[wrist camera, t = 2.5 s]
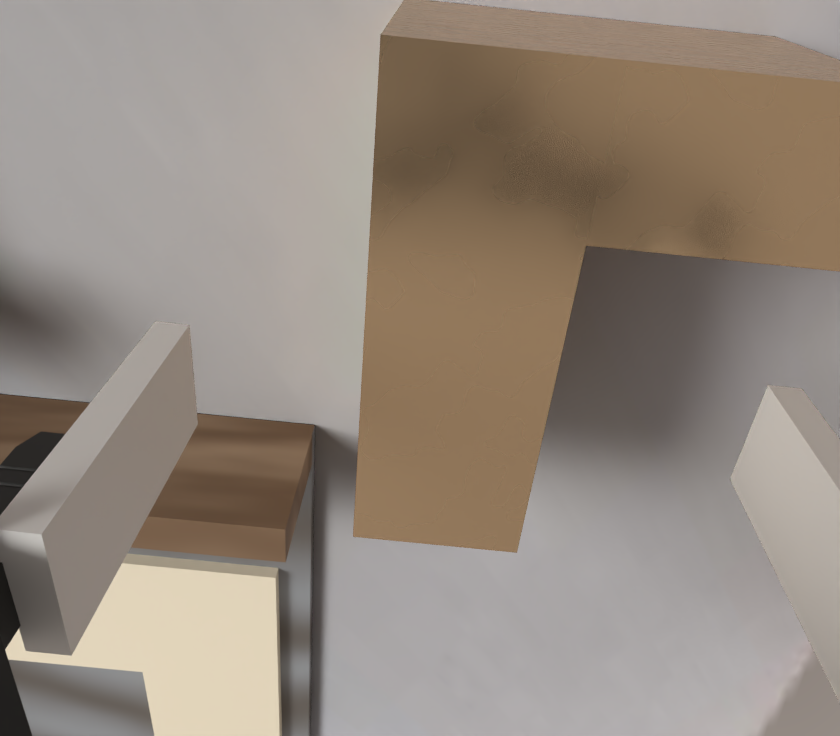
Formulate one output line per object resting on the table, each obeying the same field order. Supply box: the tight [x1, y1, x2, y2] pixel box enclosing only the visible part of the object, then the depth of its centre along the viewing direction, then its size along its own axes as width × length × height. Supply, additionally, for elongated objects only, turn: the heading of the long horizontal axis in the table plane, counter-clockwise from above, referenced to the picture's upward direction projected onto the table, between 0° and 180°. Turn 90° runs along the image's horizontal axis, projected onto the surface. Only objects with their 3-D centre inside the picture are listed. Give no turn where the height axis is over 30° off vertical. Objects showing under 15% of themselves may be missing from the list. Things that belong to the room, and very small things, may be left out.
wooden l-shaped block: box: [353, 0, 840, 553], centre depth 22 cm, size 14×11×8 cm
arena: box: [0, 394, 315, 736], centre depth 33 cm, size 24×24×6 cm
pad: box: [5, 553, 282, 736], centre depth 37 cm, size 14×17×1 cm
